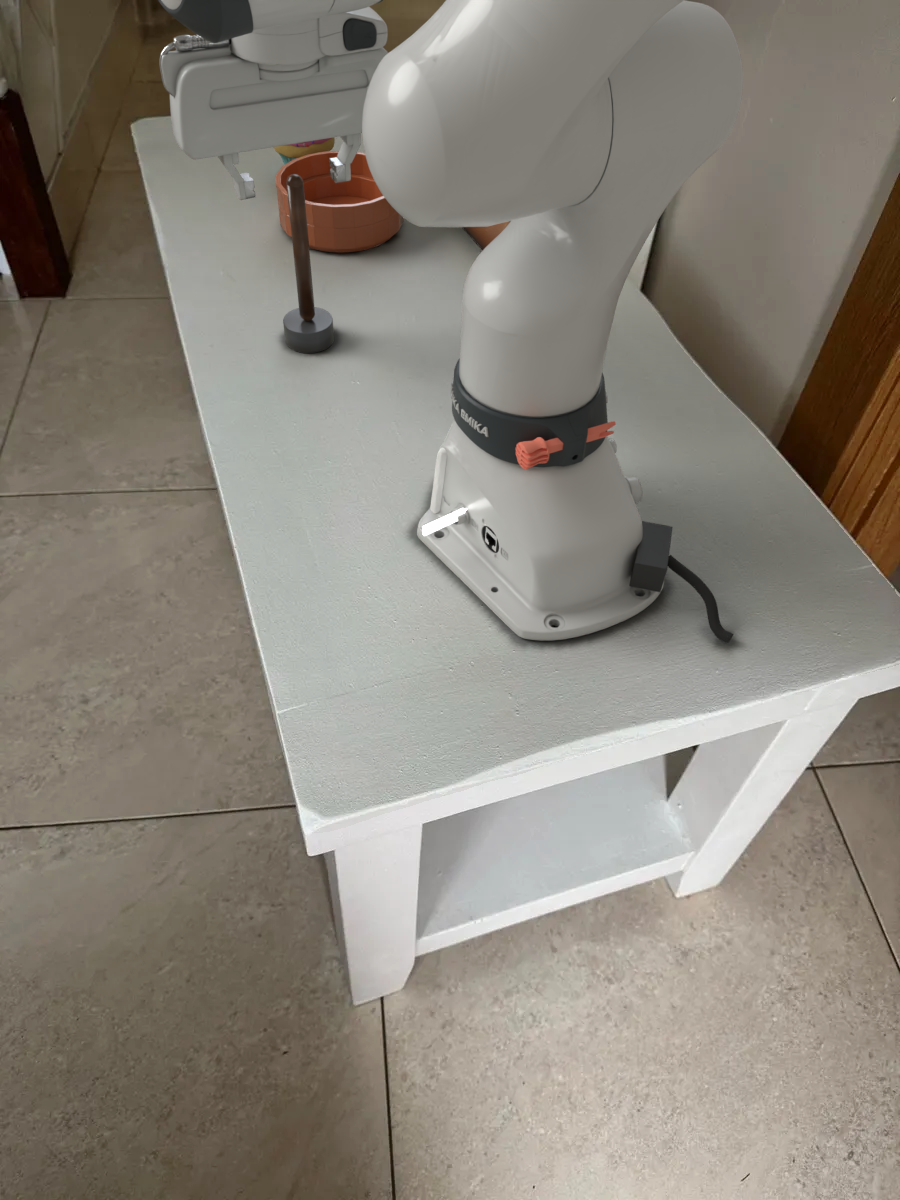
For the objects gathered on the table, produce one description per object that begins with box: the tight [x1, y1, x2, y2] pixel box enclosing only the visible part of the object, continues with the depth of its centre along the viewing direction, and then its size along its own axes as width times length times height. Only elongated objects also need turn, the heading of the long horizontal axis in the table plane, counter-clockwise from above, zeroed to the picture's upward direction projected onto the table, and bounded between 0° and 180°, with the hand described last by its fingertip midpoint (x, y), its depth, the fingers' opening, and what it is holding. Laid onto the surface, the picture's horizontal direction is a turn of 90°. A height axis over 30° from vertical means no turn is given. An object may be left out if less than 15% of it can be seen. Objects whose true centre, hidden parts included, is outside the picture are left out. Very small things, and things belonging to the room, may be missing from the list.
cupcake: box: [272, 137, 336, 166], centre depth 122 cm, size 9×8×12 cm
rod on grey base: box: [282, 174, 335, 354], centre depth 93 cm, size 5×5×18 cm
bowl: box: [275, 150, 404, 253], centre depth 115 cm, size 15×15×6 cm
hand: (293, 188), depth 88 cm, fingers open, 8 cm apart
